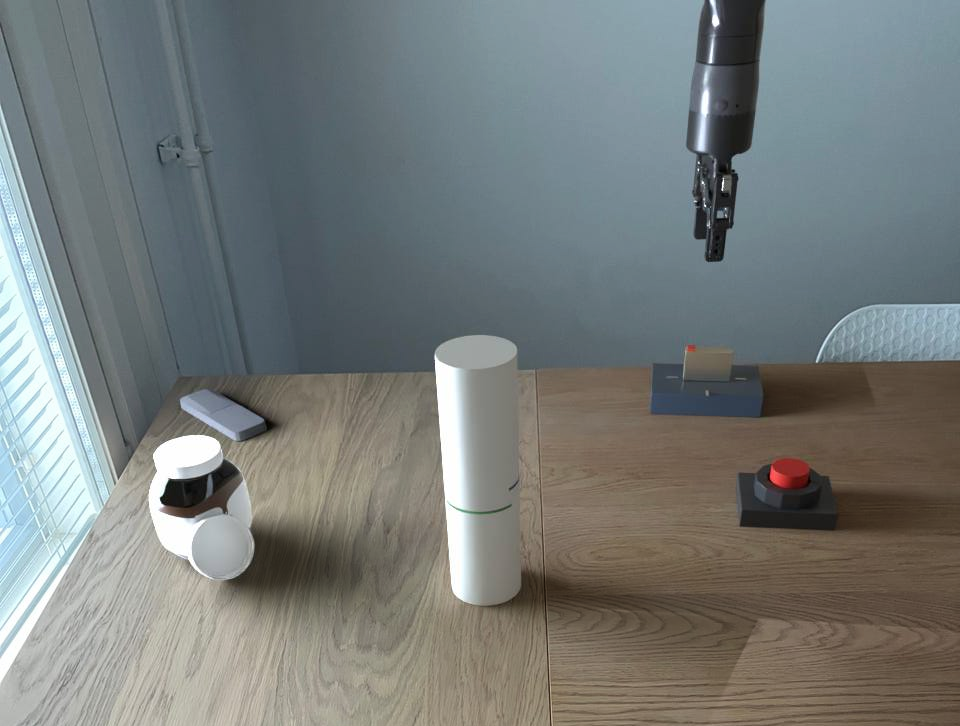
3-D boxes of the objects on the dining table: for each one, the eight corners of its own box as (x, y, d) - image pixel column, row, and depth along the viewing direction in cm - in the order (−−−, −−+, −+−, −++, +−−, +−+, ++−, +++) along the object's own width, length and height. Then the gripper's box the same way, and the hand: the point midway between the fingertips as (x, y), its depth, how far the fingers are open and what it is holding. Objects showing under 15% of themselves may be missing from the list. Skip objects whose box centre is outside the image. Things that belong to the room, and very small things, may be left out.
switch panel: (755, 384, 133) (758, 362, 131) (760, 419, 126) (764, 396, 124) (651, 381, 135) (652, 360, 133) (649, 416, 127) (651, 393, 125)
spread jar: (213, 514, 113) (190, 422, 106) (293, 536, 109) (275, 443, 102) (141, 569, 105) (111, 474, 98) (224, 596, 101) (199, 499, 93)
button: (805, 472, 108) (808, 458, 107) (809, 491, 105) (812, 477, 104) (768, 471, 109) (770, 457, 108) (770, 490, 106) (773, 475, 105)
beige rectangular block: (729, 376, 129) (733, 345, 126) (729, 381, 127) (733, 350, 125) (682, 375, 129) (685, 344, 127) (682, 380, 128) (686, 349, 126)
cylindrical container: (533, 575, 101) (531, 343, 86) (499, 613, 97) (491, 375, 81) (474, 557, 104) (462, 329, 89) (438, 593, 100) (418, 359, 84)
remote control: (270, 433, 129) (209, 395, 137) (268, 421, 128) (206, 383, 136) (238, 446, 127) (178, 406, 135) (236, 434, 126) (175, 395, 134)
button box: (825, 492, 112) (831, 461, 109) (834, 531, 105) (841, 499, 103) (735, 488, 113) (739, 458, 110) (739, 526, 107) (743, 495, 104)
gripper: (769, 117, 107) (749, 268, 117) (743, 90, 118) (727, 230, 128) (699, 120, 107) (685, 270, 117) (680, 93, 118) (669, 232, 128)
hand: (707, 249), depth 123 cm, fingers open, 8 cm apart
